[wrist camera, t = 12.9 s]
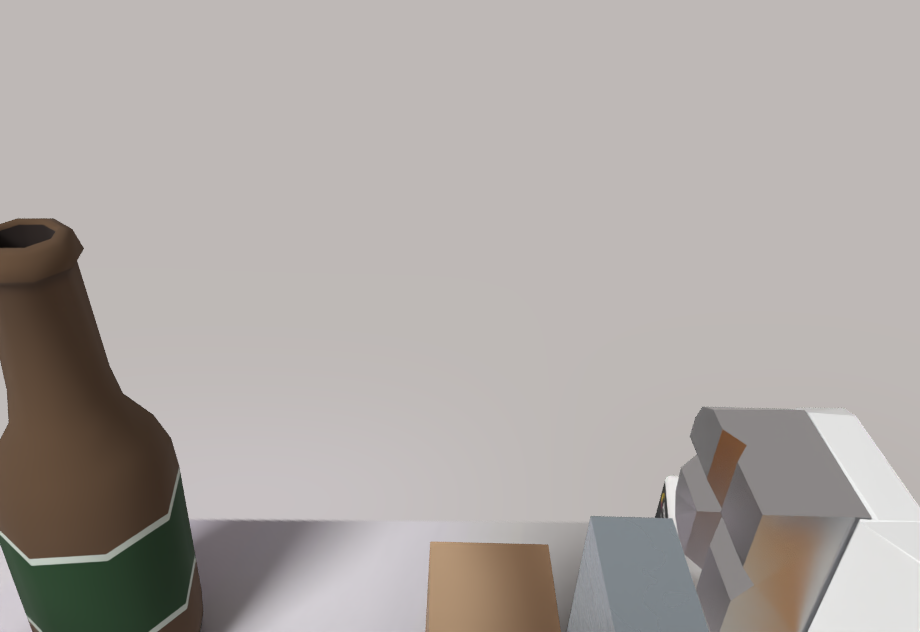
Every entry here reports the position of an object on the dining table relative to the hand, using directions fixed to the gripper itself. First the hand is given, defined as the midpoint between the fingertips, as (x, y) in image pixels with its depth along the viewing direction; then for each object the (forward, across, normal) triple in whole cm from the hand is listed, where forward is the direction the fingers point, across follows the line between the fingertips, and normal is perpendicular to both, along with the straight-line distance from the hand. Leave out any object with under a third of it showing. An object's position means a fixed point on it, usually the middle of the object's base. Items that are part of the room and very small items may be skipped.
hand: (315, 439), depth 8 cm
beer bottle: (+20, -13, -32) cm, 40 cm away
